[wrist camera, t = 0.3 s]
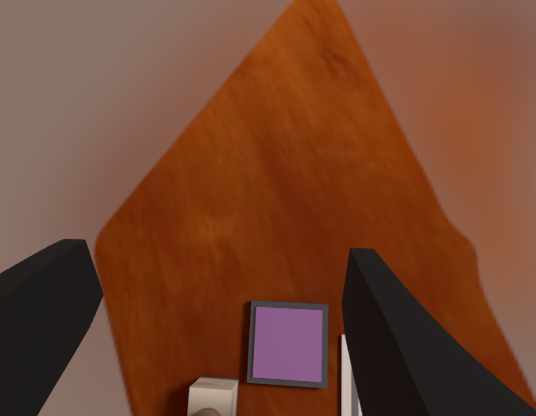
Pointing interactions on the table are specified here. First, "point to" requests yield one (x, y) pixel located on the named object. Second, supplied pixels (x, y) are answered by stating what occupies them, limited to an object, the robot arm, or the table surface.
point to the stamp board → (348, 385)
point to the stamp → (213, 397)
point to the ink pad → (288, 344)
